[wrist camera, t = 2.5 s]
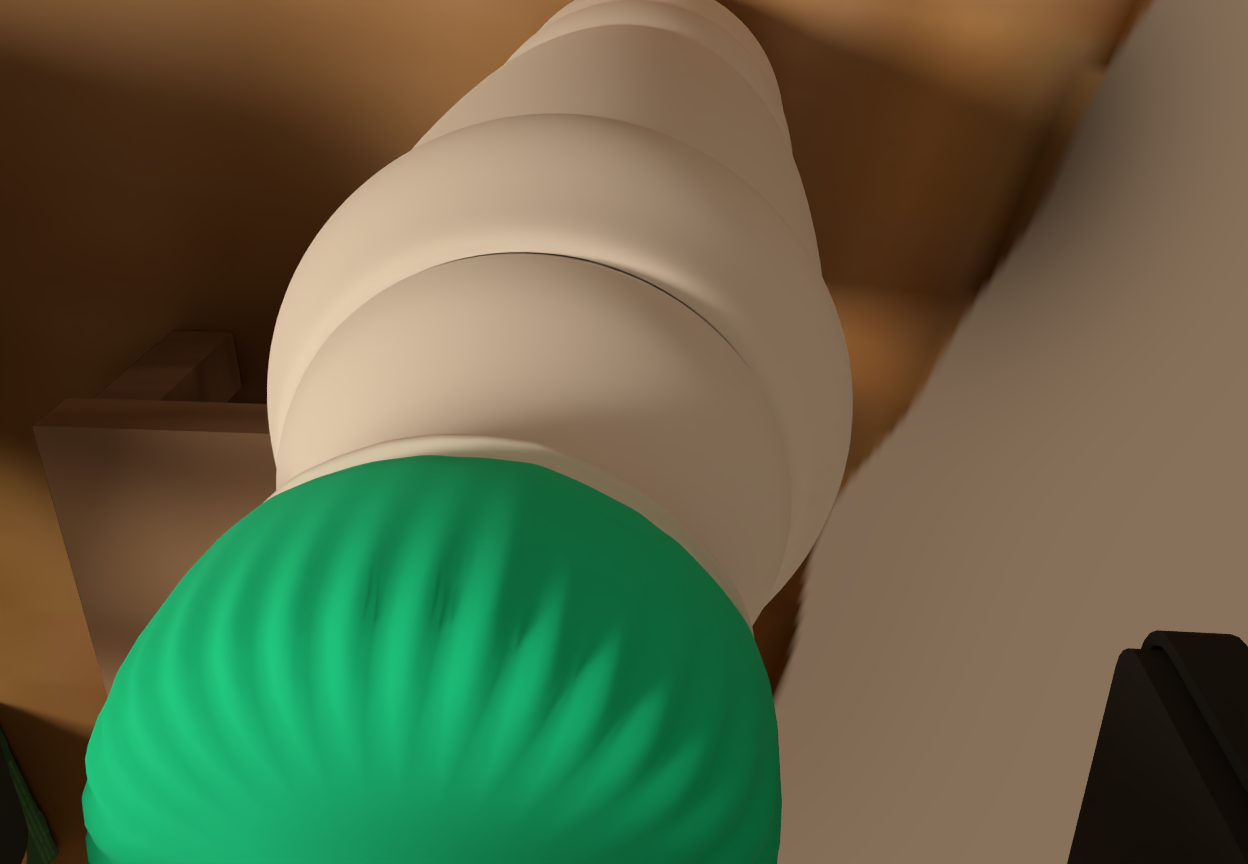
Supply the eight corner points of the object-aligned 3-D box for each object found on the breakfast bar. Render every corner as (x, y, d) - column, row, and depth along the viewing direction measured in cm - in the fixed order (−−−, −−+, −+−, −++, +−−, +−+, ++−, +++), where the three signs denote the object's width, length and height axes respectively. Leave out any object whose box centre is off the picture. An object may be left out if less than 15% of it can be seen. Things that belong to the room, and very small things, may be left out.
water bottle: (490, 211, 30) (-129, 1129, 8) (547, -58, 27) (-226, 263, 5) (734, 278, 31) (770, 1334, 9) (818, 21, 28) (1226, 653, 5)
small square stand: (162, 320, 33) (31, 425, 27) (629, 332, 32) (607, 445, 26) (238, 687, 39) (148, 841, 33) (629, 707, 38) (611, 869, 32)
